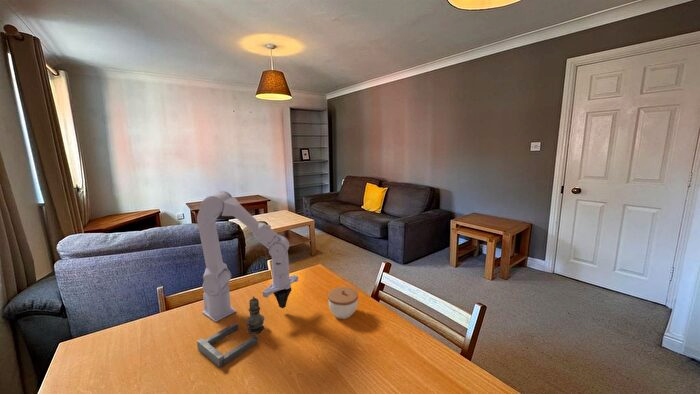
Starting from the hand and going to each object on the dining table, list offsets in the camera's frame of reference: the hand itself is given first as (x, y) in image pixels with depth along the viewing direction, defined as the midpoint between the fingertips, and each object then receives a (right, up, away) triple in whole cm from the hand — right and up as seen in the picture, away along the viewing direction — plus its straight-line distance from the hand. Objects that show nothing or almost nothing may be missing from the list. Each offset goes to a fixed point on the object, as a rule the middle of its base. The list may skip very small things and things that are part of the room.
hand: (282, 306), depth 103 cm
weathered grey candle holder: (-7, -4, -9) cm, 12 cm away
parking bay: (-12, -6, -16) cm, 21 cm away
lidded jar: (+22, -3, 0) cm, 22 cm away
